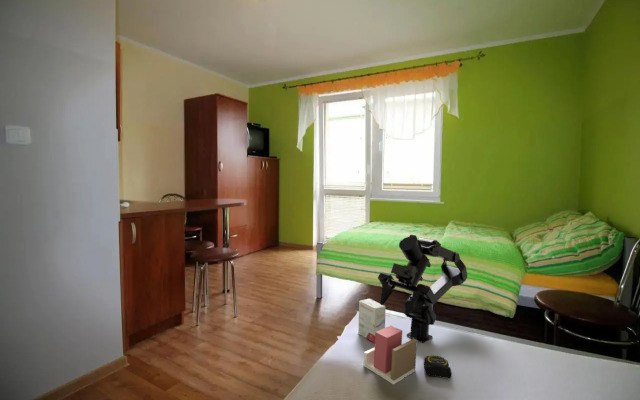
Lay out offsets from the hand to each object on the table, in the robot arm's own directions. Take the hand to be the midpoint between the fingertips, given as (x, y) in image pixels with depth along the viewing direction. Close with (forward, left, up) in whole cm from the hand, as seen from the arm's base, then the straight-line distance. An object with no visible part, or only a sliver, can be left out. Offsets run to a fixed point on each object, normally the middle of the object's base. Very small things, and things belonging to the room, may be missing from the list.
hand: (392, 309), depth 97 cm
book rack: (+8, +5, -14) cm, 16 cm away
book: (+8, +5, -13) cm, 16 cm away
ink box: (-2, -10, -14) cm, 17 cm away
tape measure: (-1, +15, -14) cm, 21 cm away
